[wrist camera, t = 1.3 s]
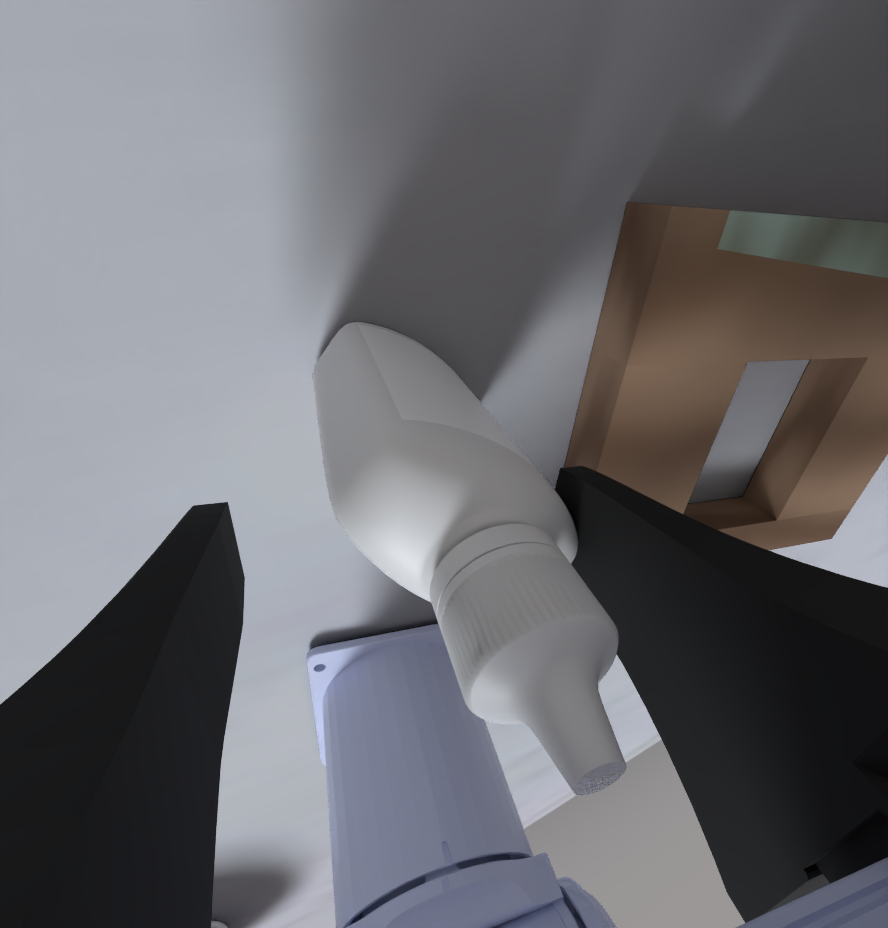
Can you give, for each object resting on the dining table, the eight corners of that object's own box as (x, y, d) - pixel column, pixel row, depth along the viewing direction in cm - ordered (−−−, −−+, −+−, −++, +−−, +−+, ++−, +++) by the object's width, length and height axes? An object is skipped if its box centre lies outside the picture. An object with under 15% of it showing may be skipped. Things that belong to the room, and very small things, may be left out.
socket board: (797, 515, 26) (1067, 696, 17) (542, 556, 21) (724, 828, 13) (966, 228, 18) (1616, 278, 9) (627, 202, 14) (1231, 248, 5)
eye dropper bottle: (426, 280, 14) (783, 544, 4) (482, 427, 17) (751, 774, 7) (293, 343, 13) (309, 787, 4) (375, 480, 17) (499, 906, 7)
